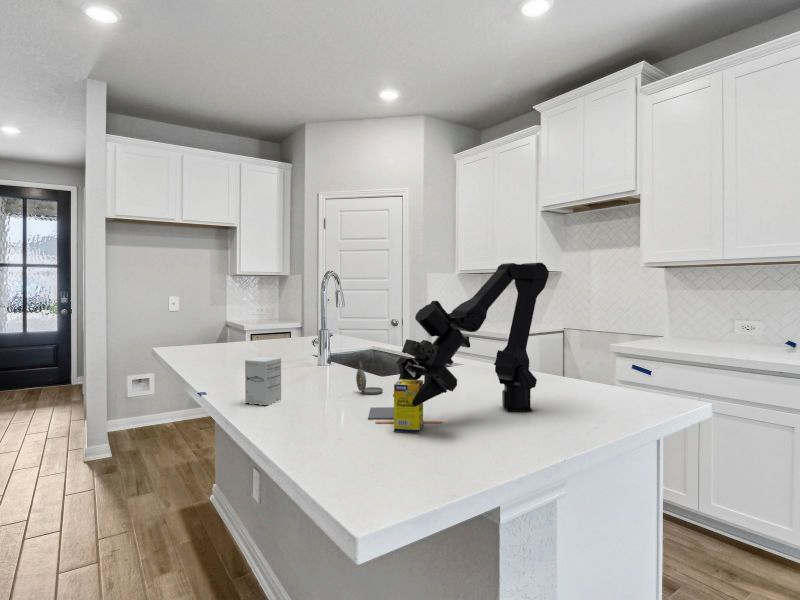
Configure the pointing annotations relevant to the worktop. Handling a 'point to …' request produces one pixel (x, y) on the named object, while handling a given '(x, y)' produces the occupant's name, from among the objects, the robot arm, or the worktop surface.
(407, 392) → the supplement box
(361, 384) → the pocket watch
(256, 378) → the supplement box
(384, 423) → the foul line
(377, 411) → the mat
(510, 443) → the worktop surface
